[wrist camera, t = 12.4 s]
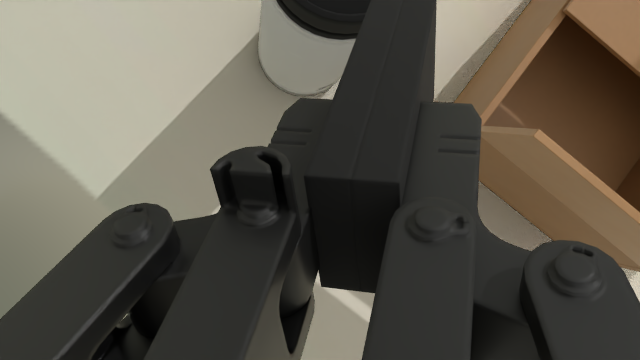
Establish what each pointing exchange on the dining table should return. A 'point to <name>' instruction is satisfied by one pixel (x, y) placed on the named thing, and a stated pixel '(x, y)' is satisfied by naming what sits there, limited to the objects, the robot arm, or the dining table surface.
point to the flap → (570, 184)
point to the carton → (565, 106)
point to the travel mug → (308, 42)
